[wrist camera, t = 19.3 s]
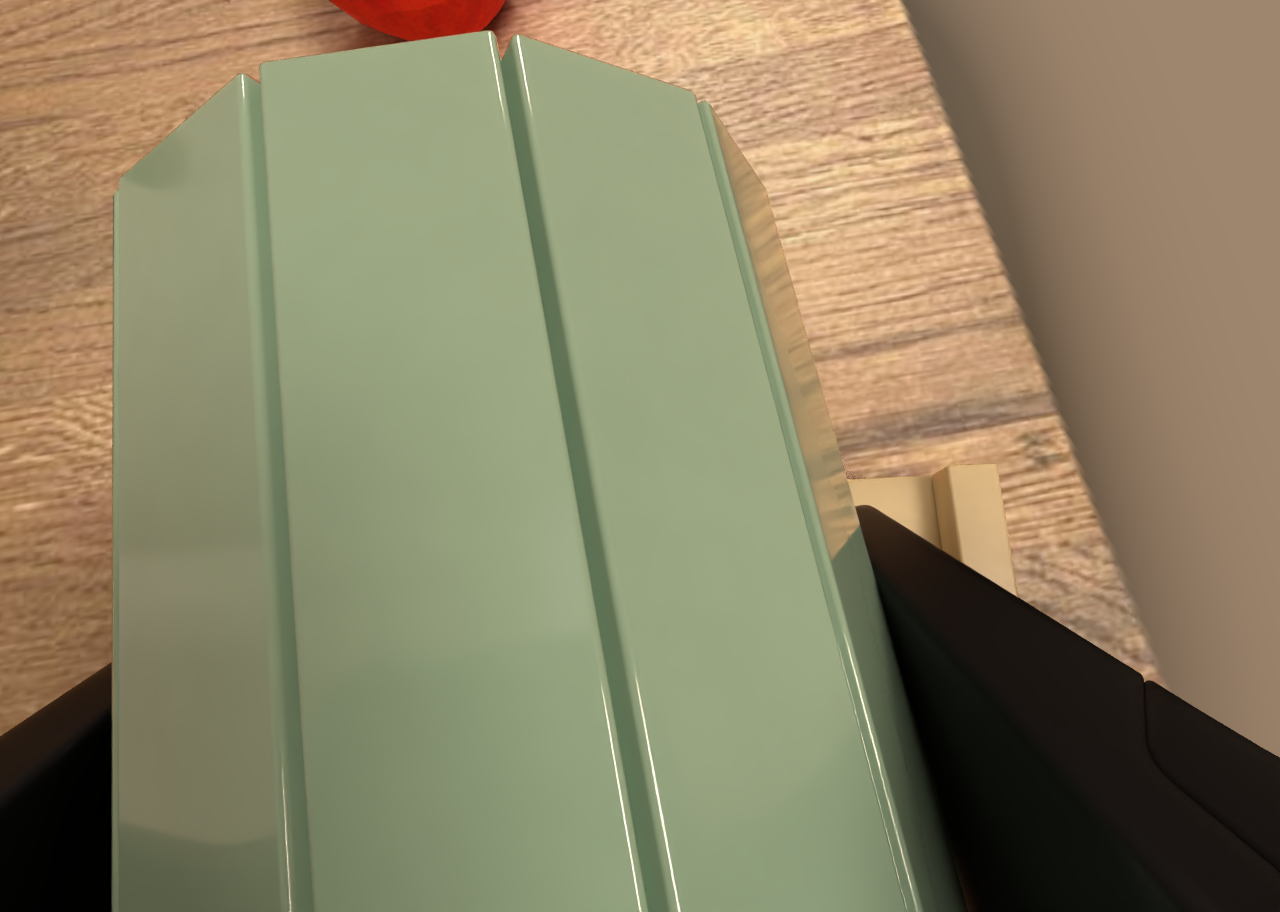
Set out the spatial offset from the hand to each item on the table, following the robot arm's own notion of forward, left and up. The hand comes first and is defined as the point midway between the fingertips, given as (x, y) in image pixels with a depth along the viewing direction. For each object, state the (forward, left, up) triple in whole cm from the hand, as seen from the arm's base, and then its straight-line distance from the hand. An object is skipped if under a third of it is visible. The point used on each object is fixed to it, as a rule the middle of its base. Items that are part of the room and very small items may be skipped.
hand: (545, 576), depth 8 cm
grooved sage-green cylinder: (-2, +1, +1) cm, 2 cm away
